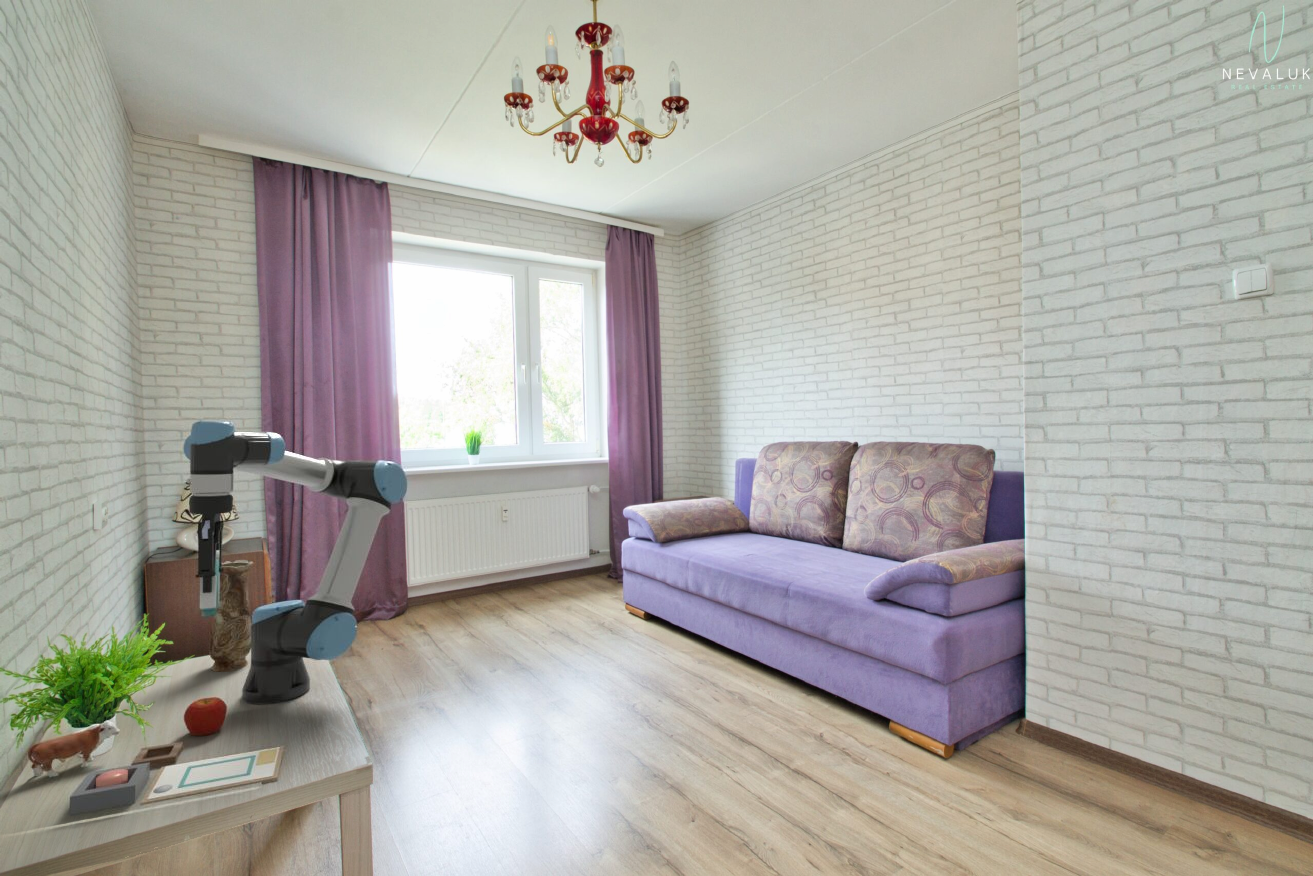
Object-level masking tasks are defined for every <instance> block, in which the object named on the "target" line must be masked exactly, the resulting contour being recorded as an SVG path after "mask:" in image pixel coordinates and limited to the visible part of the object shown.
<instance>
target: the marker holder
mask: <svg viewBox="0 0 1313 876" xmlns="http://www.w3.org/2000/svg"><path fill="white" fill-rule="evenodd" d="M183 750H184V741H180V742H173V743H166V744H161V745H160V744H159V745H155V746H154V745H153V746H148V747H142V748H141V749H140V750H139V752H138V753H137V755H136V756H135V758H134V759H133V760H132V762H131V764H130V766H131V765H137V764H143V763H149V762H150V769H152V768H157V767H164V766H169V765H175V764H177V761H178V760H179V758H180V755H181V754H182V752H183Z"/></svg>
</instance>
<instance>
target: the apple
mask: <svg viewBox="0 0 1313 876" xmlns="http://www.w3.org/2000/svg"><path fill="white" fill-rule="evenodd" d="M227 709H228V706H227V704H226V703H225V701H224V700H223V699H222V698H220V697H216V696H215V697H205V698H204V697H203V698H199V699H197V700H194V701H193V702H192V703H191V704H190V705H189V706H188V707H187V708H186V709H185V712H184V715H183V721H184V724H185V726H186V729H187V731H188V732H189V733H190V734H191V735H193V736H196V737H197V736H198V737H199V736H200V737H201V736H208V735H211V734H215V733H216V732H218V731H219V730H221V728H222V726H223V725H224V722H225V720H226V717H227V716H226V715H227V711H228V710H227Z"/></svg>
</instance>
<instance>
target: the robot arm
mask: <svg viewBox="0 0 1313 876" xmlns="http://www.w3.org/2000/svg"><path fill="white" fill-rule="evenodd" d="M191 425H192V426H191V431H190V435H188V436H187V438H186V439H185V441H184V443H183V453H184V455H185V457H186V458H187V459H188V460H189V462H190V464H189V468H190V469H189V474H190V475H189V477H190V478H187V479H186V483H187V484H190V485H189V492H190V493H191V494H193V495H191V496H190V497H189V505H188V507H189V509H188V510H189V511H188V512H189V513H190V514H192V515H201V521H200V522H198V523H197V524H198V525H197V531H196V533H197V552H198V553H197V569H198V570H197V574H195V578H196V579H197V578H199V609H200V610H201V609H204V608H215V607H216V579H217V576H215V575H216V572H215V565H216V550H219V583H218V604H219V585H220V572H222V571H224V568H220V567H221V566H222V563H223V562H222V560H223V559H222V557H223V556H222V555H223V554H222V553H223V531H224V530H223V529H224V526H225V524H224V523H225V522H224V520H222V519H221V514H227V513H230V512H231V513H232V511H233V510H234V508H233V507H234V506H233V505H234V495H232V494H231V493H232V492H233V491H234V480H235V479H234V477H235V476H234V470H237V471H242V472H244V473H245V472H246V473H250V474H255V475H258V476H263V477H267V478H271V479H276V480H279V481H284V482H288V483H293V484H297V485H302V486H305V487H306V488H307V489H308V490H310V492H311V491H312V492H316V493H319V494H323V495H327V496H330V497H333V498H337V499H341V500H344V501H345V502H346V503H347V505H348V511H347V513H346V516H345V519H344V521H343V523H342V527H341V529H340V531H339V534H338V537H337V539H336V542H335V545H334V548H333V549H332V552H331V555H330V557H329V560H328V562H327V565H326V567H325V570H324V573H323V575H322V578H321V580H320V583H319V586H318V589H317V591H316V593H315V594H314V595H312V596H311V597H309V598H307V599H306V601H305V603H304V600H301V599H293V600H284V601H278V602H273V603H268V604H265V605H261V606H258V607H257V608H256V609H254V610H253V612H252V614H251V649H250V668H249V671H248V673H247V675H246V678H245V682H244V684H243V687H242V689H241V695H242V696H241V699H242V701H244V702H245V703H248V704H256V705H261V704H262V705H264V704H275V703H280V702H281V703H282V702H284V701H288V700H292V699H295V698H298V697H300V696H303V695H304V694H306V693H308V692H309V690H310V688H311V677H310V674H309V672H308V669H307V666H306V664H305V661H304V659H305V658H306V659H311V660H314V661H321V660H322V661H332V660H335V659H337V658H340V656H342V655H344V654H345V653H346V652H348V650H349V649H350V648H351V646H352V644H353V643H354V642H355V639H356V637H357V633H358V626H357V625H358V623H357V619H356V617H355V616H354V612H355V607H354V606H353V604H352V599H353V596H354V594H355V592H356V588H357V586H358V583H359V580H360V578H361V575H362V572H363V569H364V567H365V564H366V561H367V558H368V555H369V553H370V550H371V547H372V544H373V542H374V539H375V536H376V533H377V531H378V528H379V525H380V522H381V520H382V518H383V517H384V516H386V515H387V514H389V513H390V512H391V510H392V505H393V504H397V503H400V502H401V501H402V500H403V499H404V497H405V496H406V494H407V489H408V481H407V480H408V479H407V477H406V472H405V471H404V469H403V467H401V465H400V464H398V463H397V462H395V461H394V462H393V461H388V460H358V459H357V460H355V459H354V460H353V459H351V460H348V459H347V460H346V459H345V460H342V459H341V460H337V459H335V460H334V459H330V458H326V457H319V458H313V457H309V456H305V455H301V454H298V453H295V452H291V451H288V450H286V442H285V439H284V438H283V436H281V434H280V433H279V434H278V433H276V432H273V431H271V432H270V431H238V430H235V425H234V423H233V422H231V421H215V420H214V421H213V420H206V421H205V420H201V421H199V420H198V421H195V422H194V423H192V424H191Z"/></svg>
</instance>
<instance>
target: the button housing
mask: <svg viewBox="0 0 1313 876" xmlns="http://www.w3.org/2000/svg"><path fill="white" fill-rule="evenodd" d="M116 769H126V770H128V783H125V784H119V785H113V786H108V787H102V788H96V778H97V777H98V776H99V775H101V774H103V773H105V772H108V771H112V770H116ZM150 770H151V768H150V762H149V763H143V764H137V765H131V764H130V765H127V766H121V767H114V768H108V769H103V770H96V771H91V772H88V773H87V775H86V776H85V777H84V779H82V781H81V782H80V783H79V785H78V786H77V787H76V788H75V790H74V791H73V793H72V794H71V795H70V796H69V816H73V815H78V814H84V813H87V812H88V813H90V812H94V811H100V810H103V809H104V810H105V809H111V808H115V807H121V806H126V805H131V804H136V802H137V801H138V799H139V798H140V796H141V793H142V792H143V790H144V789H145V787H146V786H147V783H148V782H149V780H150V779H151V778H150V777H151V775H150V773H151V772H150Z"/></svg>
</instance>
